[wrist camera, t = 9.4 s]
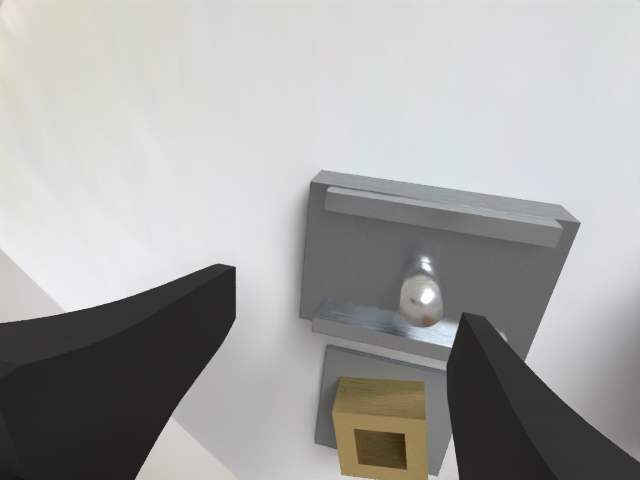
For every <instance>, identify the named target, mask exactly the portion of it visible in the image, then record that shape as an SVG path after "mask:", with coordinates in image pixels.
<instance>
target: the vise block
mask: <svg viewBox="0 0 640 480" xmlns="http://www.w3.org/2000/svg"><path fill="white" fill-rule="evenodd" d="M580 224H581V223H580V222H579V221H578V220H577V219H576V218H575V217H574V216H572V215H571V214H570V213H569V212H568V211H567V210H565V209H564V208H563V207H562V206H561V205H555V204H549V203H542V202H535V201H528V200H521V199H515V198H508V197H501V196H494V195H487V194H480V193H474V192H467V191H460V190H453V189H446V188H439V187H433V186H426V185H419V184H412V183H405V182H399V181H392V180H385V179H378V178H371V177H364V176H358V175H351V174H344V173H337V172H330V171H323V170H322V171H321V172H320V173H319V174H318V175H317V176H316V177H315V178H314V179H313V180H312V181H311V182H310V194H309V206H308V218H307V230H306V242H305V254H304V266H303V278H302V290H301V302H300V314H299V318H302V319H307V320H311V321H313V327H312V332H317V333H321V334H326V335H330V336H335V337H339V338H344V339H348V340H353V341H357V342H362V343H366V344H371V345H375V346H380V347H384V348H389V349H393V350H398V351H402V352H407V353H412V354H416V355H421V356H425V357H430V358H434V359H439V360H443V361H448V359H449V355H450V352H451V349H452V345H453V342H454V339H455V335H456V332H457V329H458V325H459V322H460V318H461V315H462V312H465V313H470V314H475V315H480V316H484V317H485V318H486V319H487V320H488V321H489V322H490V323H491V324H492V326H493V327H494V328H495V329H496V330H497V332H498V333H499V334H500V335H501V336H502V337H503V339H504V340H505V341H506V342H507V343H508V344H509V346H510V347H511V348H512V349H513V350H514V351H515V352H516V354H517V355H518V356H519V357H520V358H521V359H522V360H523V361H525V359H526V357H527V354H528V352H529V349H530V347H531V344H532V342H533V339H534V337H535V334H536V332H537V329H538V327H539V325H540V322H541V320H542V317H543V315H544V312H545V310H546V307H547V305H548V302H549V300H550V297H551V295H552V293H553V290H554V288H555V285H556V283H557V280H558V278H559V275H560V273H561V270H562V268H563V265H564V263H565V261H566V258H567V256H568V253H569V251H570V248H571V246H572V243H573V241H574V238H575V236H576V233H577V231H578V229H579V226H580Z"/></svg>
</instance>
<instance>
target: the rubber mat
mask: <svg viewBox="0 0 640 480" xmlns="http://www.w3.org/2000/svg"><path fill="white" fill-rule="evenodd" d="M340 377H358V378H375V379H391V380H408V381H424V382H425V411H426V439H427V468H428V474H430V475H434V476H438V474H439V471H440V468H441V465H442V462H443V459H444V456H445V453H446V450H447V447H448V444H449V441H450V438H451V435H452V427H451V420H450V413H449V407H448V400H447V371H443V370H438V369H434V368H429V367H425V366H421V365H416V364H412V363H407V362H403V361H398V360H394V359H390V358H385V357H381V356H376V355H372V354H367V353H363V352H359V351H354V350H350V349H345V348H341V347H336V346H332V345H327V348H326V356H325V364H324V373H323V381H322V389H321V397H320V405H319V413H318V421H317V429H316V437H315V443H317V444H320V445H324V446H328V447H331V448H335V449H338V448H337V441H336V435H335V429H334V422H333V416H332V410H333V406H334V402H335V398H336V394H337V390H338V385H339V381H340Z"/></svg>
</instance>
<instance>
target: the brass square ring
mask: <svg viewBox="0 0 640 480" xmlns="http://www.w3.org/2000/svg"><path fill="white" fill-rule="evenodd" d="M332 416H333V422H334V429H335V435H336V441H337V448H338V454H339V461H340V467H341V474H342V475H346V476H354V477H361V478H369V479H377V480H428V468H427V439H426V411H425V382H424V381H408V380H391V379H375V378H358V377H340V381H339V385H338V390H337V394H336V398H335V402H334V406H333V410H332Z"/></svg>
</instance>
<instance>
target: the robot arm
mask: <svg viewBox="0 0 640 480" xmlns="http://www.w3.org/2000/svg"><path fill="white" fill-rule="evenodd" d="M235 319H236V267H234V266H229V265H224V264H215V265H212V266H209V267H206V268H204V269H201V270H199V271H196V272H194V273H191V274H189V275H186V276H184V277H181V278H179V279H176V280H174V281H171V282H169V283H167V284H164V285H161V286H159V287H156V288H153V289H150V290H147V291H145V292H142V293H139V294H136V295H134V296H131V297H127V298H124V299H121V300H118V301H114V302H111V303H107V304H103V305H100V306H96V307H92V308H87V309H82V310H78V311H73V312H68V313H64V314H59V315H54V316H49V317H42V318H36V319H30V320H22V321H15V322H7V323H0V480H135V478H136V476H137V474H138V473H139V471H140V468H141V467H142V465H143V464H144V462H145V460H146V458H147V456H148V455H149V453H150V451H151V449H152V447H153V446H154V444H155V442H156V440H157V438H158V437H159V435H160V433H161V432H162V430H163V428H164V427H165V425H166V423H167V422H168V420H169V418H170V416H171V415H172V413H173V411H174V410H175V408H176V407H177V405H178V404H179V402H180V401H181V399H182V398H183V396H184V395H185V394H186V392H187V391H188V390H189V388H190V387H191V386H192V384H193V383H194V382H195V380H196V379H197V377H198V376H199V375H200V373H201V372H202V371H203V369H204V368H205V367H206V365H207V364H208V363H209V361H210V360H211V358H212V357H213V356H214V354H215V353H216V352H217V350H218V349H219V347H220V346H221V345H222V343H223V341H224V339H225V338H226V336H227V334H228V332H229V330H230V328H231V327H232V325H233V323H234V321H235ZM447 400H448V407H449V413H450V420H451V427H452V433H453V440H454V446H455V453H456V459H457V466H458V472H459V480H640V462H638V461H637V460H635V459H634V458H633V457H631V456H630V455H629V454H627V453H626V452H625V451H623V450H622V449H621V448H619V447H618V446H617V445H615V444H614V443H613V442H612V441H610V440H609V439H608V438H606V437H605V436H604V435H602V434H601V433H600V432H599V431H597V430H596V429H595V428H594V427H592V426H591V425H590V424H589V423H588V422H586V421H585V420H584V419H583V418H582V417H581V416H580V415H578V414H577V413H576V412H575V411H574V410H573V409H571V408H570V407H569V406H568V405H567V404H566V403H565V402H564V401H562V400H561V399H560V398H559V397H558V396H557V395H556V394H555V393H554V392H553V391H552V390H551V389H550V388H549V387H548V386H547V385H546V384H545V383H544V382H543V381H542V380H541V379H540V378H539V377H538V376H537V375H536V374H535V373H534V372H533V371H532V370H531V369H530V368H529V367H528V366H527V365H526V364H525V362H524V361H523V360H522V359H521V358H520V357H519V356H518V355H517V354H516V352H515V351H514V350H513V349H512V348H511V347H510V346H509V344H508V343H507V342H506V341H505V340H504V339H503V337H502V336H501V335H500V334H499V333H498V332H497V330H496V329H495V328H494V327H493V326H492V324H491V323H490V322H489V321H488V320H487V319H486V318H485V317H484V316H480V315H475V314H470V313H465V312H462V315H461V318H460V322H459V325H458V329H457V332H456V335H455V339H454V342H453V345H452V349H451V352H450V355H449V359H448V362H447Z"/></svg>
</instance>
